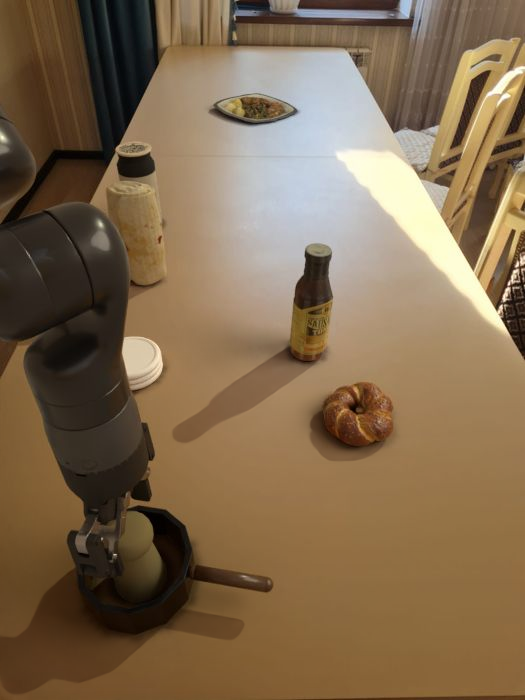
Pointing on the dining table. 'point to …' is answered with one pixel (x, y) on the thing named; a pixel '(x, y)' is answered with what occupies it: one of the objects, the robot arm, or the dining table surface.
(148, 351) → the coaster
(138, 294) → the dining table surface
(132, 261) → the food model
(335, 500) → the dining table surface
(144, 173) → the travel mug
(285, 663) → the dining table surface
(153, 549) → the olive green pawn
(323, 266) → the sauce bottle
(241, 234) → the dining table surface
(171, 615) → the pan
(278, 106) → the meal
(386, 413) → the pretzel
